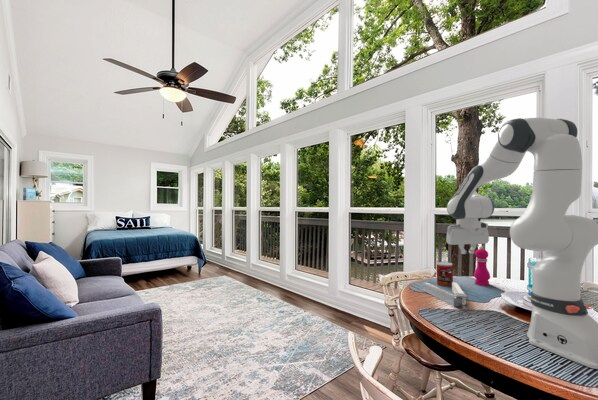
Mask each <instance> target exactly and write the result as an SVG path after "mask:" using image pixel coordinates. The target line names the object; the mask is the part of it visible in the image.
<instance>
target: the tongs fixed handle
mask: <svg viewBox="0 0 598 400" xmlns="http://www.w3.org/2000/svg"><path fill="white" fill-rule="evenodd" d="M422 286H423V289H422V290H423V292H425V293H427V294H429V295H431V296H433V297H435V298H437V299H439V300H441V301H443V302H445V303H448V304H449V305H452V306H453V307H454V308H457V309H463V305H462V298H460V297H456V296H455V294H454V293H453V292H450V291H448V290H445V289H443V288H441V287H438V286H436V285H434V284H432V283H429V282H423V285H422Z"/></svg>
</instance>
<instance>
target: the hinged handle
mask: <svg viewBox="0 0 598 400" xmlns="http://www.w3.org/2000/svg"><path fill="white" fill-rule="evenodd" d="M451 291H452V294H455V296H456V297H460V298H462V306H466V305H467V300H466V299H468V295H467V294H466V293H465V292H464V291H463V289H462V288H461V287H460V285H459V284H458V283H457V282H454V281H453V282H452V286H451Z"/></svg>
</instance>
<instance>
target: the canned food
mask: <svg viewBox="0 0 598 400" xmlns="http://www.w3.org/2000/svg"><path fill="white" fill-rule="evenodd" d="M453 264H454V263H452V262H447V261H439V262H438V261H437V262H436V283H437V285H439V286H443V287H452V282H454V265H453Z"/></svg>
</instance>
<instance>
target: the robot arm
mask: <svg viewBox="0 0 598 400" xmlns="http://www.w3.org/2000/svg"><path fill="white" fill-rule="evenodd" d="M577 127H578V126H576V124H575V122H573V121H571V120H568V119H563V118H549V117H548V118H547V117H546V118H545V117H527V118H523V117H522V118H521V117H520V118H513V119H510V120H507V121H506V122H504V123H503V124H502V125H501V127H500V128H499V130H498V133H497V137H496V139H495V141H494V142H493V143H492V146H491V147H490V149H489V151H488V153H487V155H486V156H485V157H484V158H483V160H482V161H481V162H480V163H479V164H477V165H475V166H474V167H473V168H472V169H471V170H470V171H469V173H468V174H467V175H466V177H465V178H464V180H463V181H462V183H461V185H460V186H459V187H458V189H457V191H456V192H455V194H454V195H453V196H451V198H450V199H449V201H448V202H447V205H446V210H447V213H448V215H449V216H450V217H451V218H453V219H454V220H456V221H455V223H456V224H450V225H449V226H448V227H447V229H446V230H447V231H446V238H445V239H446V243H447V244H448V245H452V246H455V245H456V246H457V245H458V248H459V250H460V254H462V255H466V254H467V250H466V249H465V245H470V246H471V247H470V249H469V248H468V253H469V254H472V255H473V254H474V255H475V251H476V248H477V245H480V244H482V245H484V244H488V242H489V239H490V238H489V237H490V234H489V230H488V228H489V223H487V222H484V221H480V220H479V219H486V218H490V217H491V216H492V215H493V213H494V211H495V204H494V202H493V200H492V199H491V198H490V197H489V196H484V195H481V194H480V193H478V192H477V189H478V188H479V187H481V186H482V185H484V184H486V183H489V182H492V181H495V180H500V179H505V178H507V177H510V176H511V175H512V174H513V173H515V172H516V170H518V168H519V167H520V165H521V162H522V161H523V159H524V157H525V155H526V153H527V152H529V153H530V154H532V155H533V160H534V164H533V175H532V176H533V177H532V191H531V196H530V199H529V202H528V205H527V207H526V208H525V210H524V212H523V213H522V214H521V215H520V216H519V217H518V218H517V219H515V220H514V221H513V222H512V223H511V225H510V227H509V237H510V240H511V241H512V243H513V244H514V245H515V246H516V247H518V248H520V249H523V250H528V251H533V252H544V254H543V256H542V258H541V259H540V260H539V261H538V262H537V263H535V264H534V265H533V267H532V269H531V270H532V271H531V276H532V277H531V279H532V280H531V282H532V290H531V292H530V303H531V304H532V305H531V306H532V309H531V317H530V323H529V327H528V330H527V332H526V335H527V338H528V343H529V344H530V345H534V346H536V347H538V348H540V349H543V350H545V351H547V352H550V353H552V354H555V355H558V356H560V357H562V358H565V359H567V360H570V361H572V362H575V363H578V364H580V365H582V366H585V367H587V368H591V369H596V370H598V322H597V321H596V320H595V319H594V318H593V317H592V316H591V315H589V311H588V310H592V308H593V307H592V305H591V304H586V305H585V303H584V300H583V299H582V298H581V280H582V279H581V278H582V277H581V276H582V270H583V267H584V264H585V262H586V259H587V258H588V256H589V254H590V252H591V250H593V249H594V247H596V246H598V222H597V221H595V220H594V219H592V218H589V217H584V216H581V215H573V214H567V211H568V209H569V207H570V206H571V204H573V203H574V202H576V201H578V199H579V198H580V196H581V194H582V177H583V176H582V175H583V158H582V151H581V145H580V141H579V139H578V128H577ZM566 214H567V215H566ZM591 307H592V308H591Z"/></svg>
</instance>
